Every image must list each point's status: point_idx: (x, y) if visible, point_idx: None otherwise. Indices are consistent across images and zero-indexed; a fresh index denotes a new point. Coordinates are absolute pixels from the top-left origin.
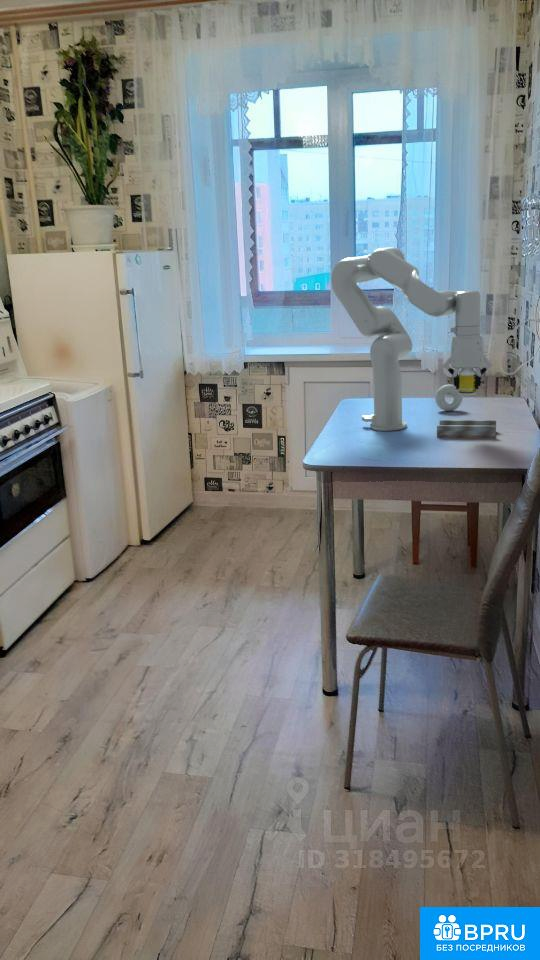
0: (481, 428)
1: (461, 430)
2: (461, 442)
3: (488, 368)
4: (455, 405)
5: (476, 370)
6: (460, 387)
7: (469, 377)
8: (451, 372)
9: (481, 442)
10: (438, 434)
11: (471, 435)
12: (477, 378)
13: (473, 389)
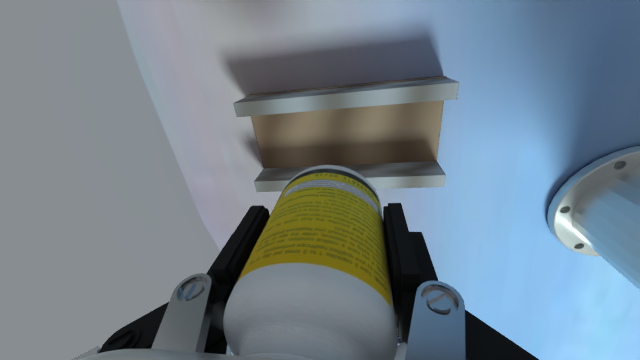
0: (281, 97)
1: (354, 89)
2: (345, 8)
3: (81, 355)
4: (399, 352)
5: (192, 333)
6: (367, 203)
7: (276, 248)
8: (493, 343)
9: (275, 24)
10: (441, 77)
11: (319, 88)
12: (222, 257)
13: (279, 199)
